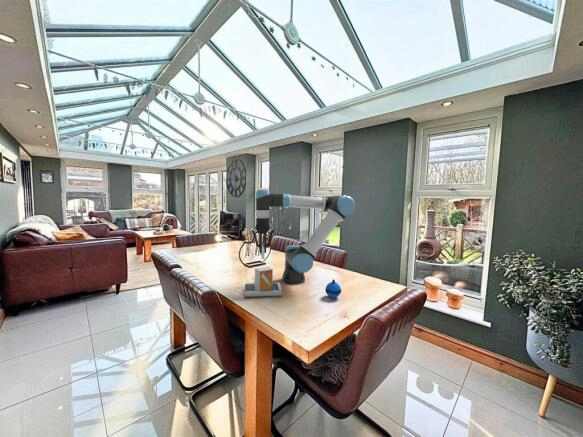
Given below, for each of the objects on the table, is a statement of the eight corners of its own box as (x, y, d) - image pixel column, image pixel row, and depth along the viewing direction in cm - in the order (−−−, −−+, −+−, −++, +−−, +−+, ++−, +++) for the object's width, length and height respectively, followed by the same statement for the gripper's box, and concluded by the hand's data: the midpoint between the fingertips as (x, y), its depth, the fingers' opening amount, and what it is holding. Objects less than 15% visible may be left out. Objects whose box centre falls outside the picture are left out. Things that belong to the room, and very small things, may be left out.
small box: (259, 294, 134) (259, 271, 133) (254, 290, 139) (254, 268, 138) (272, 291, 138) (272, 269, 137) (267, 288, 144) (267, 266, 143)
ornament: (322, 295, 139) (322, 277, 138) (335, 293, 142) (336, 276, 141) (330, 301, 131) (331, 283, 130) (344, 299, 134) (344, 281, 133)
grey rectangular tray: (279, 288, 147) (279, 281, 147) (281, 297, 134) (282, 289, 134) (244, 289, 144) (244, 282, 143) (244, 298, 131) (244, 291, 131)
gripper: (273, 216, 145) (273, 256, 147) (250, 217, 142) (250, 257, 144) (275, 217, 137) (275, 259, 140) (251, 218, 135) (251, 260, 137)
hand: (262, 258), depth 142 cm, fingers closed
